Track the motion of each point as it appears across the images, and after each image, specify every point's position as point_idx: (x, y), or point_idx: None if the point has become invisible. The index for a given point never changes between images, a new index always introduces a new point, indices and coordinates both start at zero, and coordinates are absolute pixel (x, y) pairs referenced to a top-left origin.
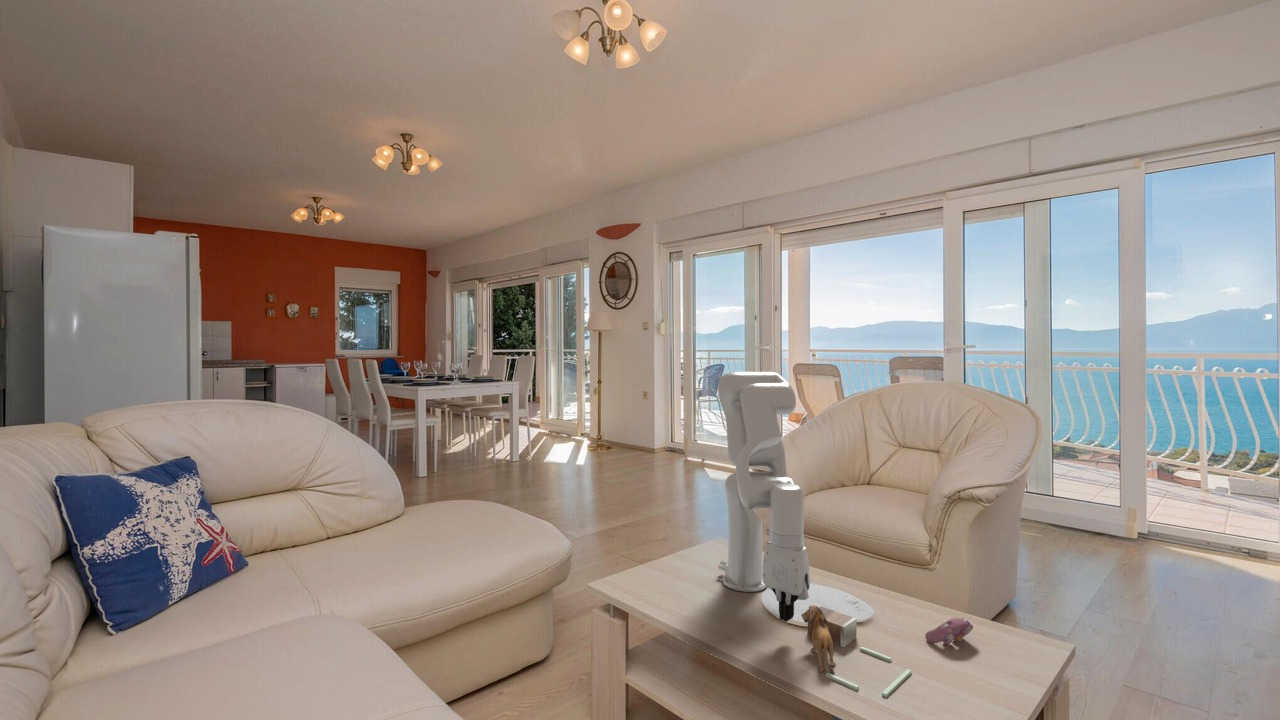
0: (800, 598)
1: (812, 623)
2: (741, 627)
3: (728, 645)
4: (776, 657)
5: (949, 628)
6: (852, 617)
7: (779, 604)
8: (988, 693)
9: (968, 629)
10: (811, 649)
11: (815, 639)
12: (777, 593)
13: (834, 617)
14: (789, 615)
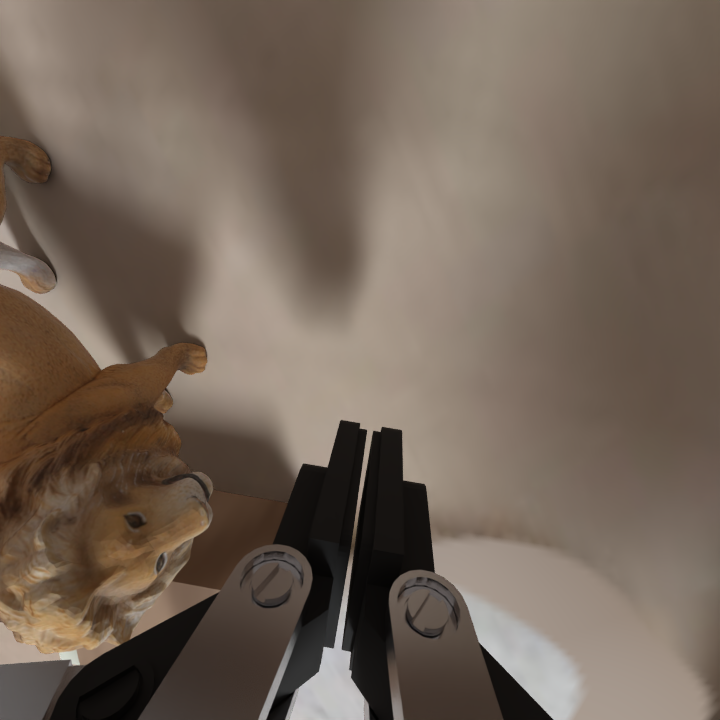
0: (11, 688)
1: (77, 442)
2: (682, 364)
3: (716, 28)
4: (316, 127)
5: None
6: (81, 664)
7: (423, 550)
8: None
9: None
10: (195, 350)
11: (114, 365)
12: (462, 705)
13: (143, 628)
14: (307, 472)
